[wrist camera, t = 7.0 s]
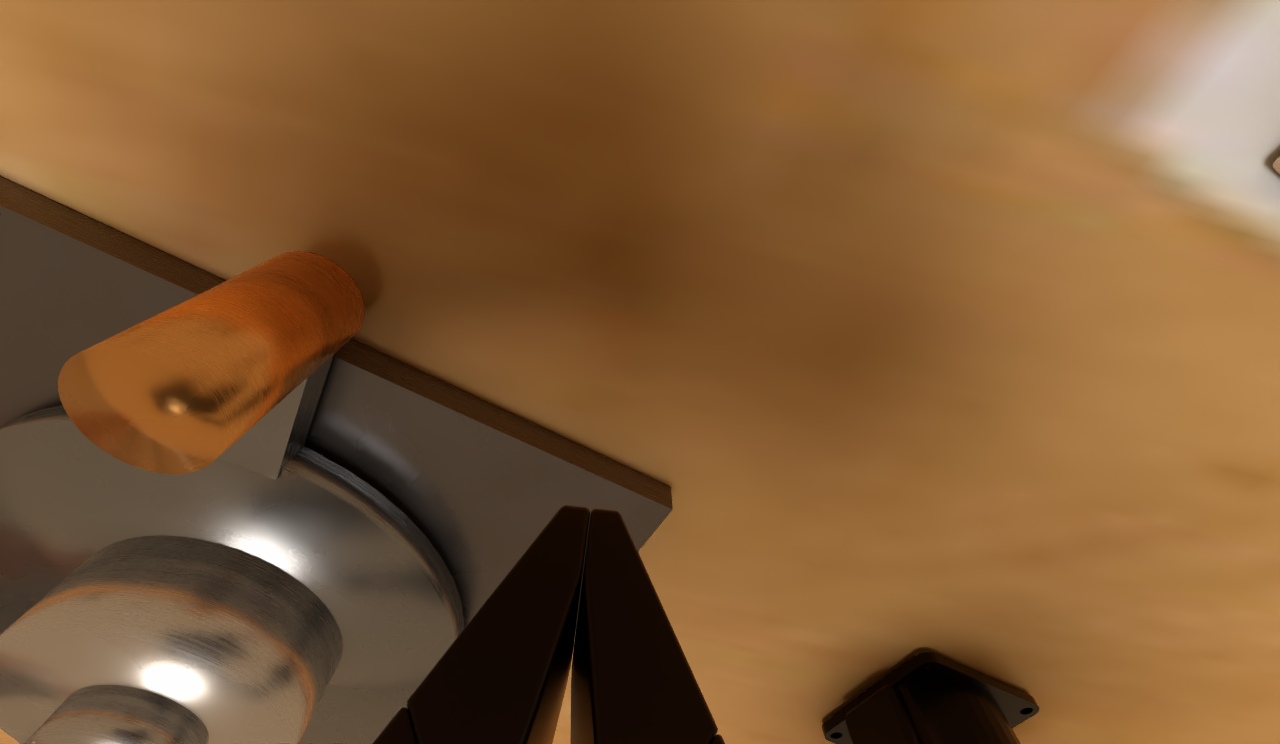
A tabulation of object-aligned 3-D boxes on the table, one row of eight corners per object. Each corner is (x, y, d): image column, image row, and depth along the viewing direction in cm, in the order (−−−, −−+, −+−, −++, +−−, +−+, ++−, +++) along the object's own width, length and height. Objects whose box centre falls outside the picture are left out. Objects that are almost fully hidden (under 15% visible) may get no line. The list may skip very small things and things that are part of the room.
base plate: (670, 487, 17) (672, 509, 16) (436, 781, 27) (429, 805, 26) (-158, 103, 12) (-221, 105, 11) (-91, 636, 21) (-122, 660, 20)
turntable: (627, 404, 14) (620, 549, 10) (387, 767, 23) (328, 926, 19) (-85, 59, 10) (-606, 47, 6) (-39, 652, 20) (-234, 817, 15)
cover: (374, 597, 17) (297, 746, 13) (309, 720, 20) (233, 866, 16) (87, 495, 15) (-100, 635, 11) (69, 650, 18) (-79, 798, 14)
